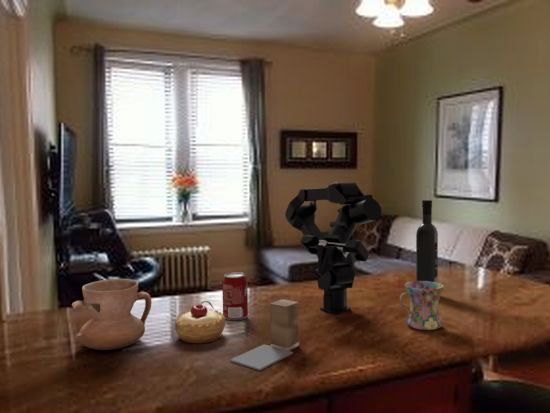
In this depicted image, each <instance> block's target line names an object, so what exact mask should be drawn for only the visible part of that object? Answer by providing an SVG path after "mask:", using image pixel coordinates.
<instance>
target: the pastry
mask: <svg viewBox="0 0 550 413" xmlns="http://www.w3.org/2000/svg"><path fill="white" fill-rule="evenodd" d="M203 303H208V304H209V305H210V307H211V308H212V309H211V308H210V309H208V308H207V307H206V306H205V305H203ZM214 308H215V307H214V306H213V304H212V302H210V301H209V300H204V301H202V302H200V304H193V306H191V307H190V310H189V311H184V313H180V314H179V315H178V316H177V317H176V318H175V319H174V320H175V321H174V330H175V333H176V335H177V336H178V338H179V339H180V340H181V341H183V342H185V343H189V344H207V343H211V342H214V341H217V340H218V339H220V338H221V335H222V334H223V332H224V329H225V327H226V318H225V316H224V315H223V312H221V311H218V310H213V309H214Z"/></svg>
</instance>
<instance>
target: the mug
mask: <svg viewBox="0 0 550 413" xmlns="http://www.w3.org/2000/svg"><path fill="white" fill-rule="evenodd" d="M404 287H405V289H406V292H403V293H401V294H400V295H399V297H398V298H399V300H398V301H399V303H400V305H401V307H402V309H403V310H404V311H405V312H407V313H408V314H409V315H408V317H407V319H406V324H407V325H408V326H409V327H411V328H413V329H416V330H421V331H433V330H437V329H440V328H441V327H442V325H443V324H442V321H441V318H440V315H439V314H440V313H439V303H440V299H441V296H442V295H441V294H442V292H443V290H444V288H445V286H444V285H443V284H442V283H440V282H438V283H436V282H430V281H416V280H413V281H409V282H406V283H404ZM406 295H408V300H409V309H408V308H406V306H405V305H404V302H403V297H404V296H406Z"/></svg>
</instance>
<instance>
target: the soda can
mask: <svg viewBox="0 0 550 413" xmlns="http://www.w3.org/2000/svg"><path fill="white" fill-rule="evenodd" d="M223 275H224V278H223V280H222V281H221V282H222V284H221V285H222V290H221V291H222V314H223V315H224V316H225V320H228V321H231V322H236V321H243V320H244V319H245V318H246V319H247V317H248V316H249V306H248V305H249V304H248V303H249V302H248V301H249V300H248V298H249V297H248V294H249V293H248V280H247V278H246V274H245V273H243V272H227V273H225V274H223Z"/></svg>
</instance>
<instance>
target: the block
mask: <svg viewBox="0 0 550 413" xmlns="http://www.w3.org/2000/svg"><path fill="white" fill-rule="evenodd" d="M269 306H270V307H269V310H270V311H269V312H270V313H269V314H270V315H269V316H270V318H269V319H270V320H269V321H270V322H269V324H270V346H273V347H276V348H280V349H284V350H287V351H292V350H294V349H296V348H297V347H299V344H300V339H299V338H300V331H299V329H300V328H299V327H300V326H299V301H294V300H289V299H284V298H283V299H282V298H281V299H279V300H276V301H273V302H271V303H269Z"/></svg>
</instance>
